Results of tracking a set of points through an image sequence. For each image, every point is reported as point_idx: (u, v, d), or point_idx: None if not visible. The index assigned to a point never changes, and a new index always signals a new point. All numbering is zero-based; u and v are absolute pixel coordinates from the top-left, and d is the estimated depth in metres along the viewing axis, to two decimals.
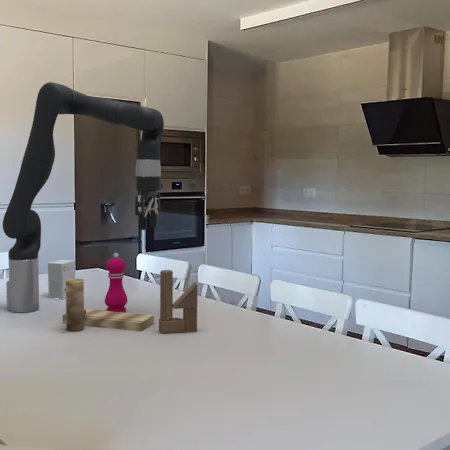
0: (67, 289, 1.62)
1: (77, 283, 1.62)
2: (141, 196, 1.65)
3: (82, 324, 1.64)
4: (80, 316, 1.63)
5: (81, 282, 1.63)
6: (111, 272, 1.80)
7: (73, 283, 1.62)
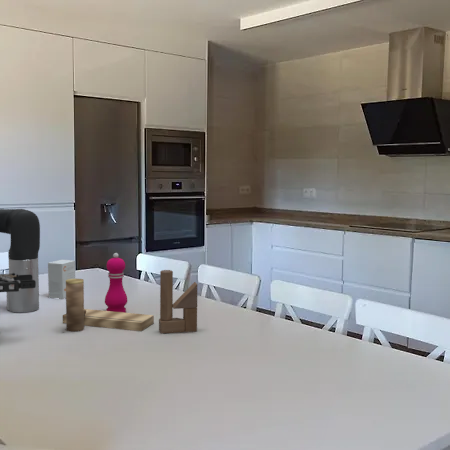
0: (67, 289, 1.62)
1: (77, 283, 1.62)
2: None
3: (82, 324, 1.64)
4: (80, 316, 1.63)
5: (81, 282, 1.63)
6: (111, 272, 1.80)
7: (73, 283, 1.62)
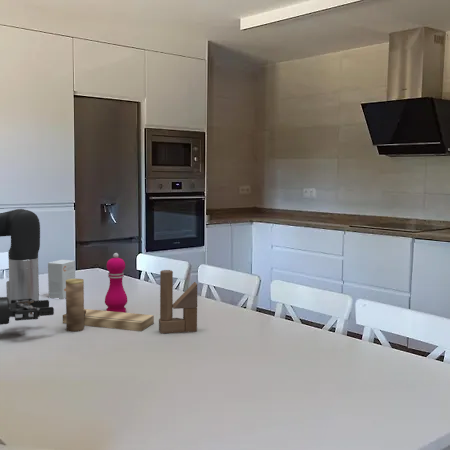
0: (67, 289, 1.62)
1: (77, 283, 1.62)
2: (16, 313, 1.52)
3: (82, 324, 1.64)
4: (80, 316, 1.63)
5: (81, 282, 1.63)
6: (111, 272, 1.80)
7: (73, 283, 1.62)
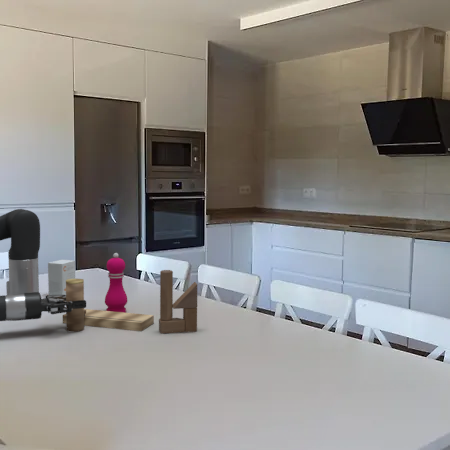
0: (67, 289, 1.62)
1: (77, 283, 1.62)
2: (52, 307, 1.56)
3: (82, 324, 1.64)
4: (80, 316, 1.63)
5: (81, 282, 1.63)
6: (111, 272, 1.80)
7: (73, 283, 1.62)
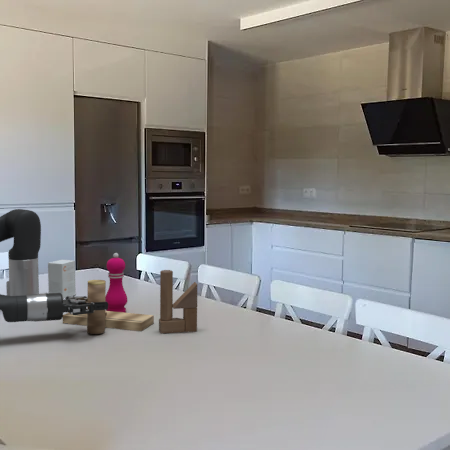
0: (89, 290, 1.59)
1: (99, 284, 1.59)
2: (74, 308, 1.52)
3: (103, 326, 1.61)
4: (101, 318, 1.60)
5: (103, 283, 1.60)
6: (111, 272, 1.80)
7: (95, 284, 1.58)
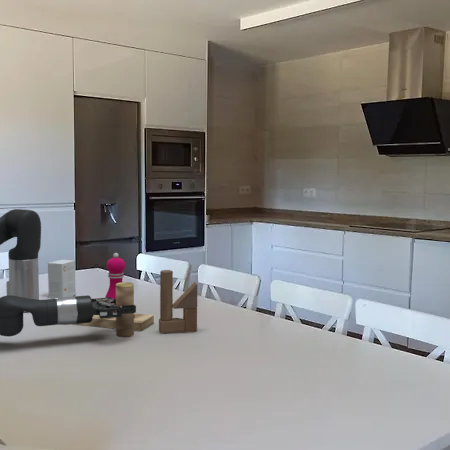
0: (117, 293, 1.58)
1: (128, 287, 1.57)
2: (101, 311, 1.51)
3: (132, 329, 1.60)
4: (130, 321, 1.59)
5: (132, 286, 1.58)
6: (111, 272, 1.80)
7: (124, 287, 1.57)
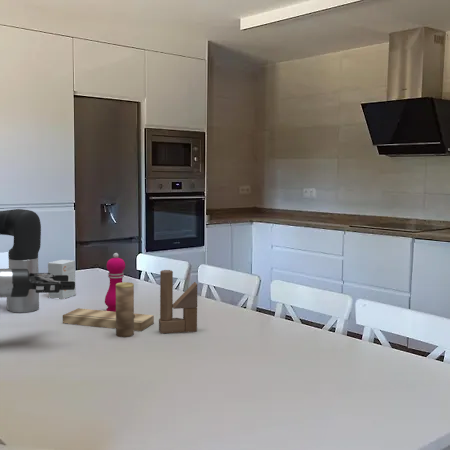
0: (117, 293, 1.58)
1: (128, 287, 1.57)
2: (37, 285, 1.45)
3: (132, 329, 1.60)
4: (130, 321, 1.59)
5: (132, 286, 1.58)
6: (111, 272, 1.80)
7: (124, 287, 1.57)
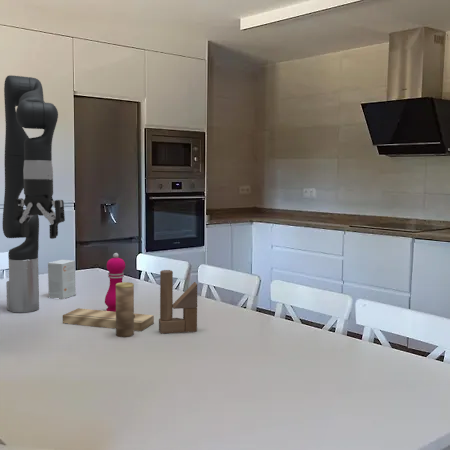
0: (117, 293, 1.58)
1: (128, 287, 1.57)
2: (62, 201, 1.51)
3: (132, 329, 1.60)
4: (130, 321, 1.59)
5: (132, 286, 1.58)
6: (111, 272, 1.80)
7: (124, 287, 1.57)
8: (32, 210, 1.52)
